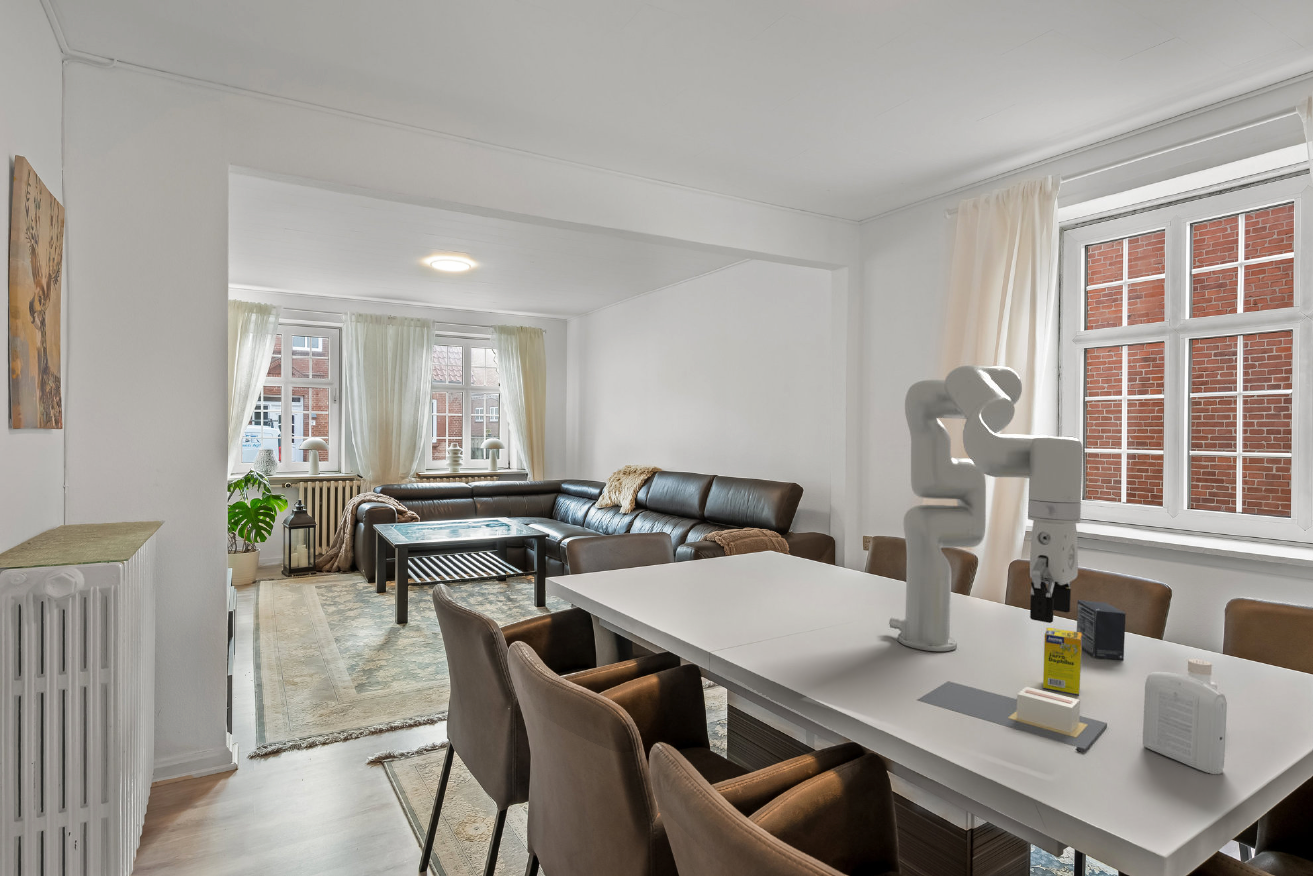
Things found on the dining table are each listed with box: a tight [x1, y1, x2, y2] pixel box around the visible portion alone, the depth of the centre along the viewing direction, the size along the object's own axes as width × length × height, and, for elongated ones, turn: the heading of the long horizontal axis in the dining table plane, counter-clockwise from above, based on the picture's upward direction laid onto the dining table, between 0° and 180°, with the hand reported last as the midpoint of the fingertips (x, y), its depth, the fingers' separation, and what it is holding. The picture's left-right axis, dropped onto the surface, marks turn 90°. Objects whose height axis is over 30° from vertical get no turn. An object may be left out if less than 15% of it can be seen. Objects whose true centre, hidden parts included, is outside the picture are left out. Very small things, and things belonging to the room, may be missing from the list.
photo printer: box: [1142, 671, 1228, 775], centre depth 104 cm, size 10×4×12 cm, turn 24°
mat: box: [916, 680, 1108, 754], centre depth 120 cm, size 26×14×1 cm, turn 46°
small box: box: [1076, 599, 1127, 661], centre depth 157 cm, size 11×6×10 cm, turn 168°
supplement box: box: [1042, 627, 1083, 697], centre depth 132 cm, size 6×6×11 cm
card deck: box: [1016, 686, 1081, 733], centre depth 116 cm, size 5×8×4 cm, turn 46°
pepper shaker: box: [1187, 658, 1218, 690], centre depth 121 cm, size 4×4×10 cm
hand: (1050, 615), depth 115 cm, fingers open, 9 cm apart
